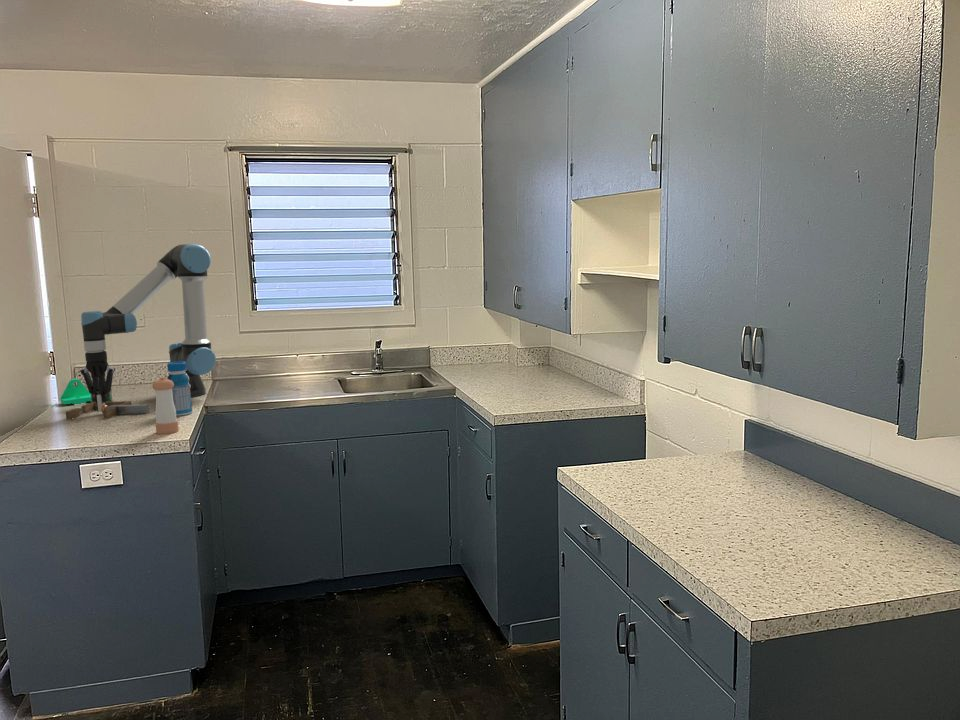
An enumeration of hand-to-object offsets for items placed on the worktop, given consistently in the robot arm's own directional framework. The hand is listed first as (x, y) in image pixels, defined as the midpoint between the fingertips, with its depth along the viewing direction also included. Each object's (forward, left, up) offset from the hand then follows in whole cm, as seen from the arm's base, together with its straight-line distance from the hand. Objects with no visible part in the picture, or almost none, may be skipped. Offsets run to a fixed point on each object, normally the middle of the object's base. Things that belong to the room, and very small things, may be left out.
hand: (102, 410), depth 311 cm
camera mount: (+23, -24, -2) cm, 34 cm away
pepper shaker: (-40, +33, -2) cm, 52 cm away
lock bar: (-10, 0, -1) cm, 10 cm away
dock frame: (+1, 0, -1) cm, 2 cm away
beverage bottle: (-33, +3, -2) cm, 33 cm away
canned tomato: (+8, -16, -2) cm, 18 cm away
